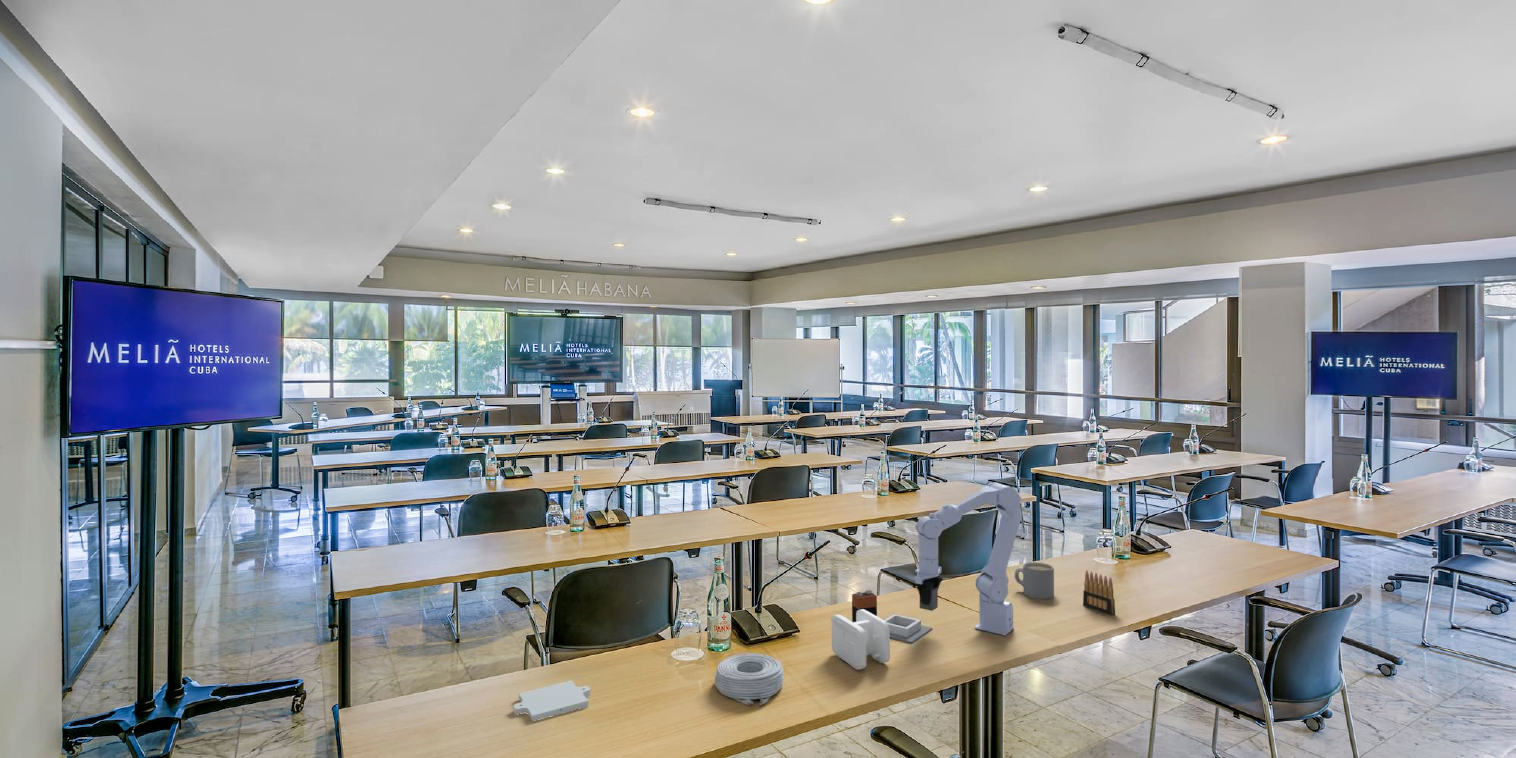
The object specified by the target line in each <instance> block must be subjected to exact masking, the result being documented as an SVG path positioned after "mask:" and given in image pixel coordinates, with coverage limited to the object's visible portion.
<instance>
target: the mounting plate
mask: <svg viewBox="0 0 1516 758" xmlns="http://www.w3.org/2000/svg"><path fill="white" fill-rule="evenodd" d="M591 689H592V688H591V687H590V686H589V685H583V686H577V685H576V683H575V682H574V681H573V680H568V681H563V682H560V683H555V684H551V685H547V686H544V687H539V688H536V689H532V690H528V691H524V692H519V693H518V700H519V699H520V701H521V702H520V701H519V702H517V703H515V704H514V705H513V713H514V712H515V714H520V713H524V712H526V713H528V715H529V716H530V718H531V719H532V721H535V720H538V719H541V718H546V717H549V716H553V715H558V714H561V715H563V714H562V713H564V712H568V713H571V712H570V711H572V710H575V709H579V708H583V709H585V707H587V708H589V700H588V698H589V697H591V695H592V692H591V691H592V690H591ZM588 696H589V697H588ZM586 697H587V698H586ZM579 710H580V709H579ZM572 712H573V711H572ZM515 714H514V715H515ZM528 715H527V716H528ZM529 716H528V717H529ZM558 716H559V715H558ZM530 718H529V719H530ZM531 719H530V720H531ZM532 721H531V722H532Z"/></svg>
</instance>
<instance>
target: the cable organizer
mask: <svg viewBox="0 0 1516 758" xmlns="http://www.w3.org/2000/svg"><path fill="white" fill-rule="evenodd" d="M890 639H891V638H890V629H889V625H888V624H887V622H886V621H885V619H882V618H881V617H879V616H878V615H877V616H875V615H874V614H872V613H870V612H868V611H866V610H864V609H861V610H858V611H857V612H856V622H852V620H851V619H849V618H847V617H845V616H843V615H841V614H833V615H832V617H831V648H832V651H833V653H834V654H835V655H836V656H837V657H838V658H839V659H840V658H841V659H840V660H842V661H844V662H845V663H847V664H848V665H850V666H851V668H854V669H855V670H858V671H860V670H864V669H866V668H867V656H870V657H872V658H873V661H874V660H875V661H877V662H878V663H880V664H884V663H888V662H889V661H890V659H891V648H890V647H891V646H890V645H891V644H890V642H891V641H890Z"/></svg>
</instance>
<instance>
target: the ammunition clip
mask: <svg viewBox="0 0 1516 758" xmlns="http://www.w3.org/2000/svg"><path fill="white" fill-rule="evenodd" d="M1083 583H1084V585H1083V586H1084V590H1083V592H1082V594H1083V595H1082V597H1083V599H1082V601H1083V602H1082V606H1084V607H1086V608H1089V609H1092V610H1094V611H1097V612H1100V613H1102V614H1106V615H1109V616H1115V615H1116V606H1115V605H1116V604H1115V600H1116V599H1115V598H1114V597H1115V596H1114V587H1113V586H1114V584H1113V580H1112V577H1111V576H1109V578H1107V575H1104V578H1103V576H1102V574H1100V575H1099V577H1098V573H1097V572H1095V573H1093V571H1092V570H1091V571H1090V574H1089V571H1088V570H1085V575H1084V582H1083Z"/></svg>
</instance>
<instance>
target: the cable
mask: <svg viewBox="0 0 1516 758" xmlns="http://www.w3.org/2000/svg"><path fill="white" fill-rule="evenodd" d="M784 674H785V673H784V666H783V664H782V663H781V662H780V661H779V660H778V659H775V658H774V657H772V656H770V655H766V654H761V653H754V652H751V653H749V652H748V653H739V654H734V655H731V656H729V657H727V658H725V659H723V660H722V661H721V662H720V663H719V664H718V665H717V667H716V672H715V677H714V685H715V688H716V689H717V690H718V691H719V692H720V693H721V694H722V695H724V696H726V697H728V698H731V699H733V700H735V701H737V702H740V703H741V704H743V705H745V706H749V707H750V706H751V705H754V701H753V700H760V702H759V703H758V706H759V707H760V706H763V705H764V704H766V703H767V702H768V701H769V700H770V698H771V697H772V696H774V695H776V694H777V693H778V692H779V691H780V689H781V688H782V687H783V685H784V680H785V678H784V677H785V676H784Z"/></svg>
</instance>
